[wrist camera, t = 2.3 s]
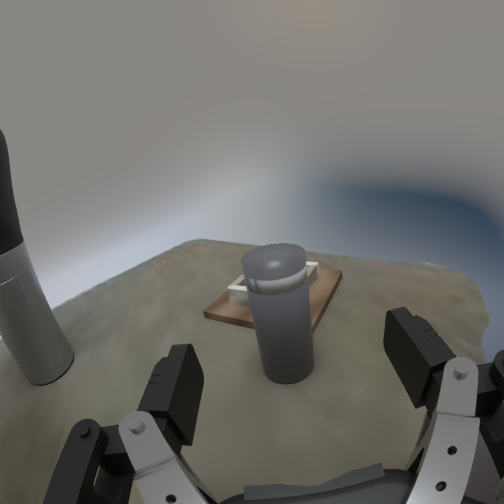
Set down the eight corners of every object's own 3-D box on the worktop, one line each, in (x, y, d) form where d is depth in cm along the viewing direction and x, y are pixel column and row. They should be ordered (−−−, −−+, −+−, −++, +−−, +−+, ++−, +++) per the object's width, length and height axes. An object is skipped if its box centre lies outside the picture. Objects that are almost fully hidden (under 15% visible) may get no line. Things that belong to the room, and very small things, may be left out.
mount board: (204, 317, 36) (198, 295, 35) (257, 269, 48) (254, 251, 47) (309, 338, 29) (307, 313, 27) (342, 276, 40) (341, 255, 39)
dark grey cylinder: (254, 376, 25) (228, 266, 21) (277, 345, 29) (260, 242, 24) (302, 389, 22) (289, 271, 18) (320, 354, 26) (313, 244, 22)
